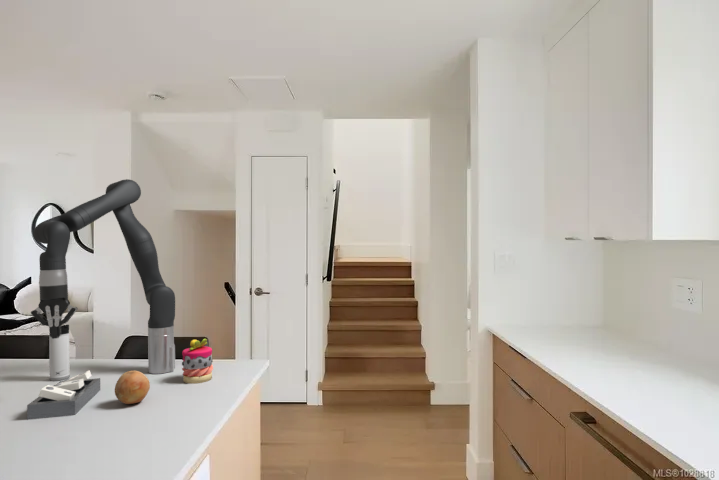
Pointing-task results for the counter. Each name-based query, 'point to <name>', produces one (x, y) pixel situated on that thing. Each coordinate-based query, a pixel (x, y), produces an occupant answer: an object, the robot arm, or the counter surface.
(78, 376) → the rocker
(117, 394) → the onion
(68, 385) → the rocker middle
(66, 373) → the travel mug
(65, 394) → the rocker
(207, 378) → the cake
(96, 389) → the power strip
